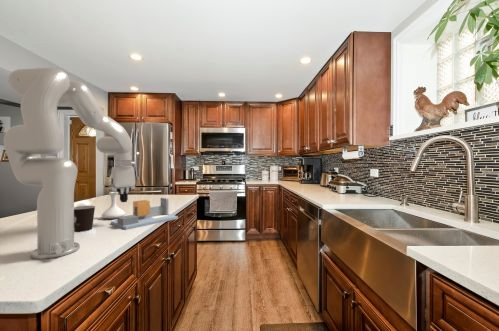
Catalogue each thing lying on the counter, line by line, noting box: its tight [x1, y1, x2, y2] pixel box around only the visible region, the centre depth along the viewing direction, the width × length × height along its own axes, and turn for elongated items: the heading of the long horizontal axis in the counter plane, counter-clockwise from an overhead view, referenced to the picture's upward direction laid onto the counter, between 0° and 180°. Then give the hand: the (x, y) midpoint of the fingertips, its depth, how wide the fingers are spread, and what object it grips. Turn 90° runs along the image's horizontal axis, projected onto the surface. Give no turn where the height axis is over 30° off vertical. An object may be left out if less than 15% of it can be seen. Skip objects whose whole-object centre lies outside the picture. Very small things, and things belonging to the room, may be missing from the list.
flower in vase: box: [101, 174, 126, 220], centre depth 128 cm, size 13×11×25 cm
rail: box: [110, 197, 179, 231], centre depth 121 cm, size 16×27×10 cm, turn 141°
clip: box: [132, 199, 151, 217], centre depth 121 cm, size 5×6×7 cm
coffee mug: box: [74, 205, 96, 233], centre depth 106 cm, size 12×9×10 cm
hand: (123, 201), depth 114 cm, fingers closed
